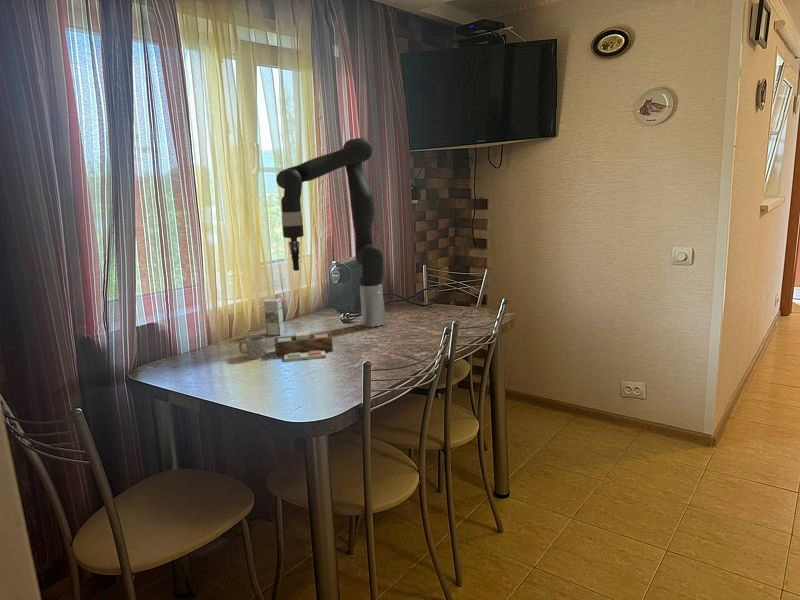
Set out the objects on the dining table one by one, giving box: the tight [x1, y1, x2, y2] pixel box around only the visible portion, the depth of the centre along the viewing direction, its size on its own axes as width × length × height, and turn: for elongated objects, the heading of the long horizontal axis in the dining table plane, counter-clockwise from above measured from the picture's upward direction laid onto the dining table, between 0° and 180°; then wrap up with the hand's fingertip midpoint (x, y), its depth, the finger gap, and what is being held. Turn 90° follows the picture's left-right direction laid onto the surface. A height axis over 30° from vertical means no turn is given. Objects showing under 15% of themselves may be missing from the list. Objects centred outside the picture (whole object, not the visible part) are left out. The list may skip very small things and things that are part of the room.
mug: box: [238, 335, 267, 360], centre depth 202 cm, size 10×7×7 cm
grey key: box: [295, 330, 311, 340], centre depth 205 cm, size 5×5×2 cm
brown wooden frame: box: [274, 331, 334, 358], centre depth 205 cm, size 20×8×5 cm, turn 102°
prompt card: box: [283, 350, 327, 362], centre depth 198 cm, size 14×5×2 cm, turn 102°
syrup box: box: [263, 297, 285, 337], centre depth 230 cm, size 6×6×14 cm
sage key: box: [278, 337, 292, 342], centre depth 204 cm, size 5×5×2 cm
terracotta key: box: [314, 334, 328, 339], centre depth 206 cm, size 5×5×2 cm
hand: (296, 270), depth 217 cm, fingers closed
